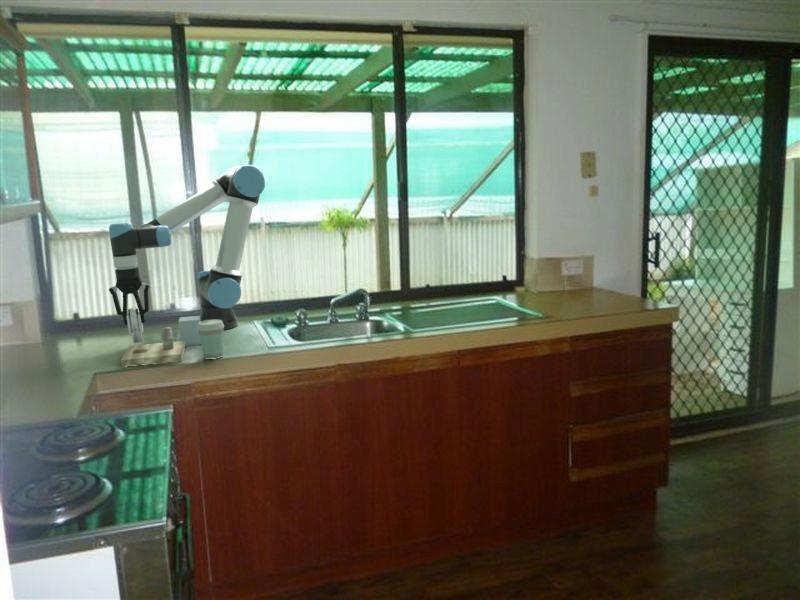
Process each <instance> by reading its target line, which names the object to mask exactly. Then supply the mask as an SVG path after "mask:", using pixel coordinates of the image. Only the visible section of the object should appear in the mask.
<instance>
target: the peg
mask: <svg viewBox="0 0 800 600" xmlns="http://www.w3.org/2000/svg"><path fill="white" fill-rule="evenodd" d="M127 313H128V315H129V319H130V325H131V332H132V334H131V339H132V344H137V343H142V342H143V335H142V334H143V333H140V327H139V320H138V314H140V313H139V309H138V307H133V308H127Z"/></svg>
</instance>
